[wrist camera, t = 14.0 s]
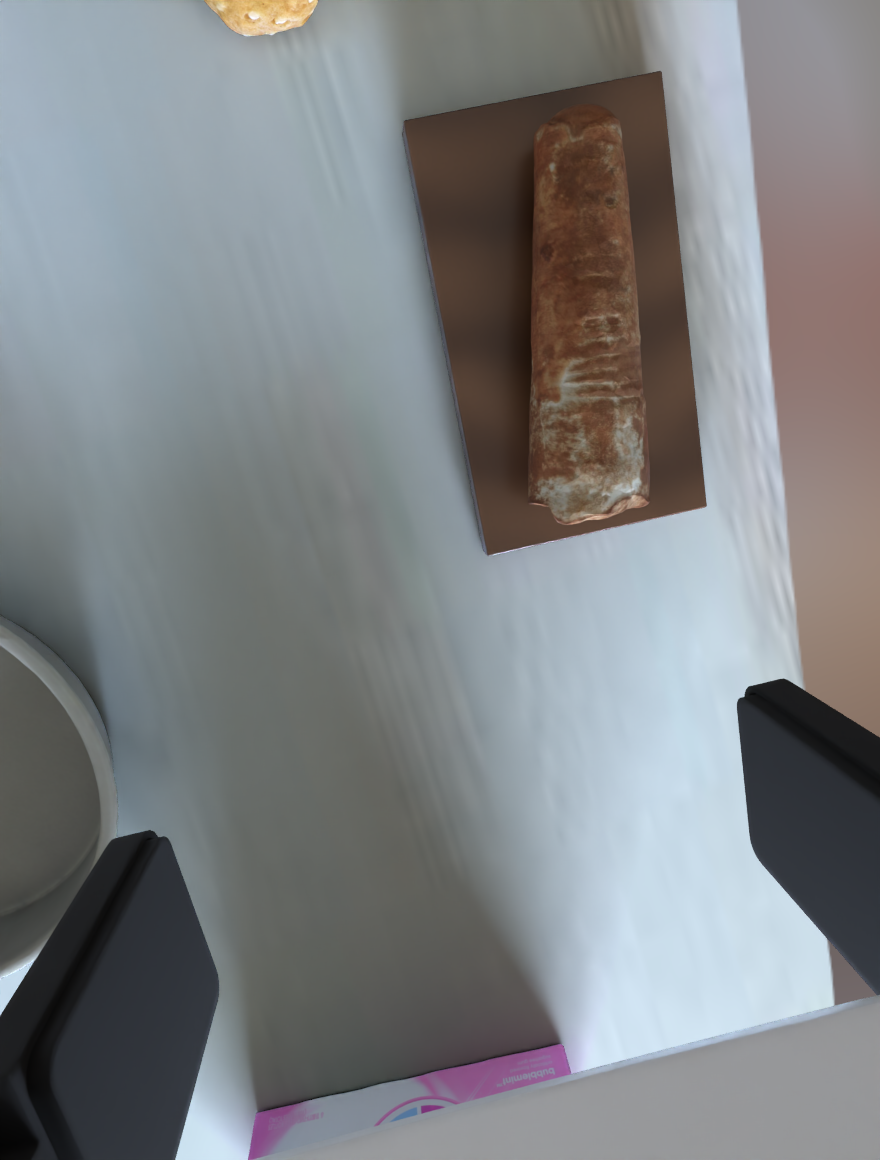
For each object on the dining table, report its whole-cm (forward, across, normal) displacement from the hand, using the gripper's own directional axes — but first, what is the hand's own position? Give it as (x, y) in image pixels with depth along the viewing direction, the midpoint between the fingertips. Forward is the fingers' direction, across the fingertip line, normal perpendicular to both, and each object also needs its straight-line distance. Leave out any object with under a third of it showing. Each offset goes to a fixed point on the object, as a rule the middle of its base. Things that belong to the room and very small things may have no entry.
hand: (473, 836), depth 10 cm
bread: (+27, -10, -9) cm, 30 cm away
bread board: (+28, -11, -9) cm, 32 cm away
